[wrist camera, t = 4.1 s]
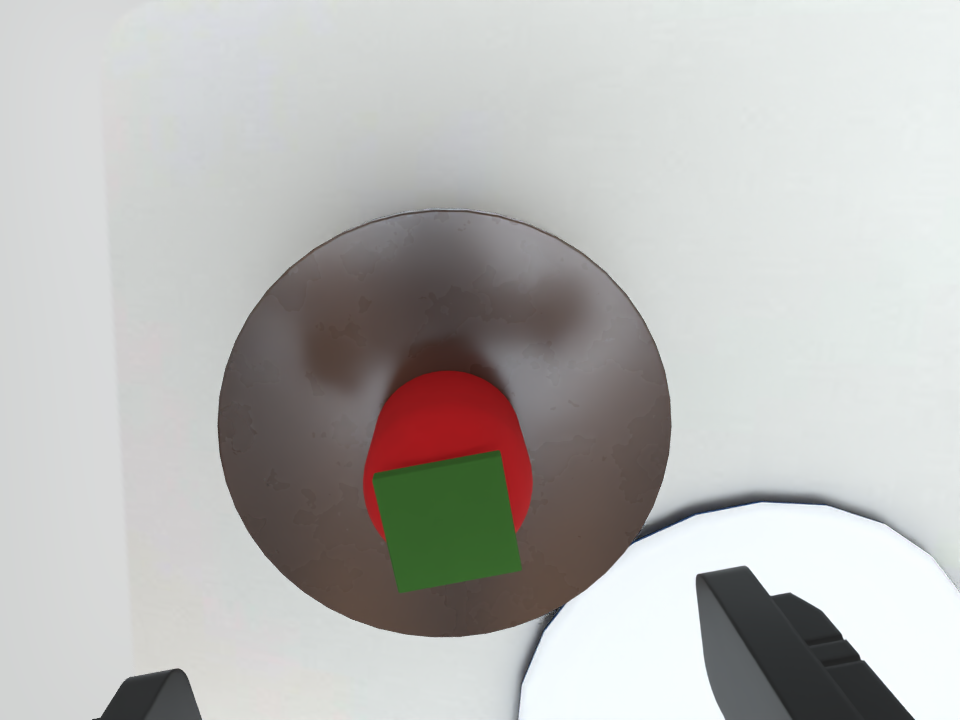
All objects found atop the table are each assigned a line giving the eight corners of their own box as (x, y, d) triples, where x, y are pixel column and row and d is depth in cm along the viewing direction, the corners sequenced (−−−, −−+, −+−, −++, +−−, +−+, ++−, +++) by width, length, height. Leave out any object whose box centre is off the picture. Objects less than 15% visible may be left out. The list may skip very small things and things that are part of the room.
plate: (503, 511, 36) (505, 523, 34) (997, 475, 36) (1016, 486, 35) (524, 904, 42) (526, 926, 41) (944, 866, 43) (959, 886, 41)
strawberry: (390, 519, 21) (373, 627, 16) (360, 385, 20) (331, 455, 15) (531, 493, 21) (558, 593, 16) (507, 357, 20) (528, 419, 15)
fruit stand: (340, 492, 35) (280, 672, 22) (273, 224, 32) (159, 258, 19) (604, 443, 35) (693, 596, 22) (564, 170, 32) (644, 168, 19)
